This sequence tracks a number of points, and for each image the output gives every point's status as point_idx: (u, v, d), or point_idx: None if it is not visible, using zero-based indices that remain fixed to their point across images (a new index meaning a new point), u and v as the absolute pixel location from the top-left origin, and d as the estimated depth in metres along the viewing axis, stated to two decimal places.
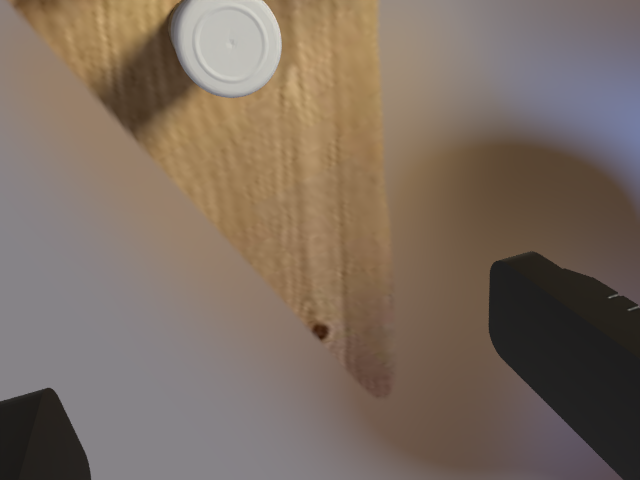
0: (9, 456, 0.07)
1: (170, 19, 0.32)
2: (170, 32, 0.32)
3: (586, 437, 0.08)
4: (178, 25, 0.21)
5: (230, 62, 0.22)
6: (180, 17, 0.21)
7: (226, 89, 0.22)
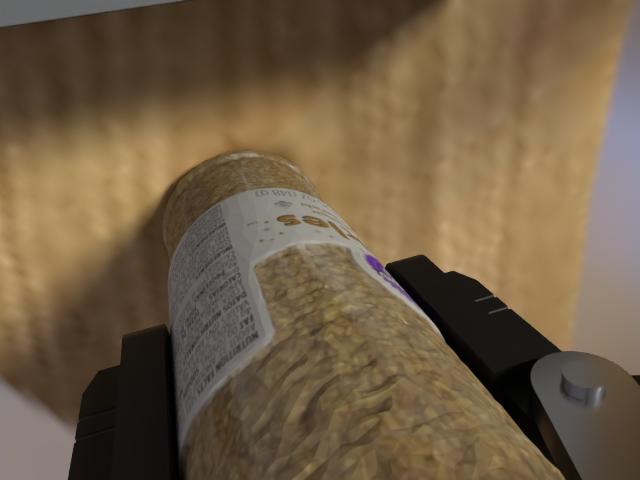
0: (151, 371, 0.08)
1: (168, 215, 0.13)
2: (168, 245, 0.13)
3: None
4: None
5: None
6: None
7: None
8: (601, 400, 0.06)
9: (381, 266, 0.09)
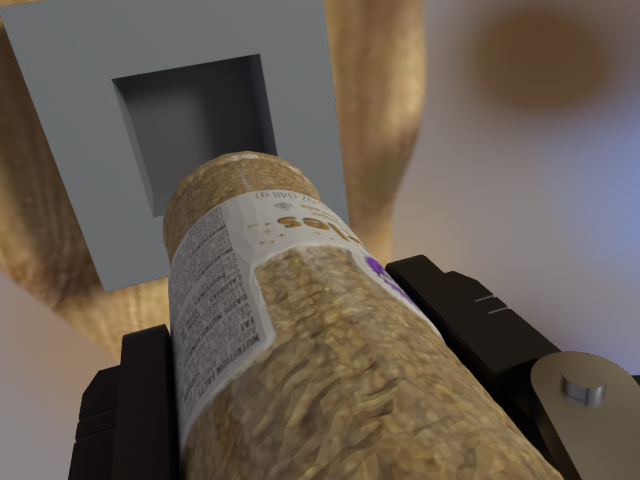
0: (151, 371, 0.08)
1: (168, 217, 0.13)
2: (168, 247, 0.13)
3: None
4: None
5: None
6: None
7: None
8: (601, 400, 0.06)
9: (381, 268, 0.09)
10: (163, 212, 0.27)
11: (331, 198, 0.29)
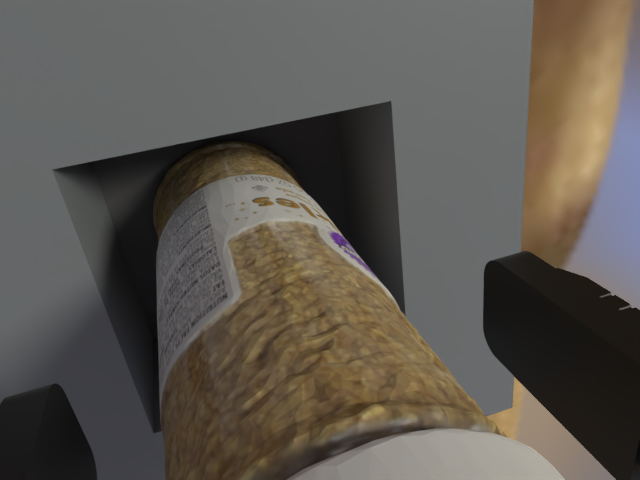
0: (18, 450, 0.07)
1: (157, 202, 0.14)
2: (157, 230, 0.14)
3: (578, 435, 0.08)
4: None
5: None
6: None
7: None
8: None
9: (345, 242, 0.10)
10: None
11: (489, 361, 0.15)
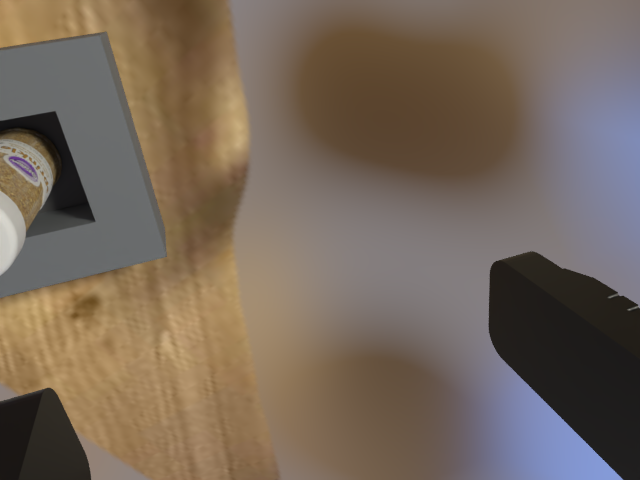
0: (9, 456, 0.07)
1: None
2: None
3: (585, 437, 0.08)
4: None
5: None
6: None
7: None
8: None
9: (20, 160, 0.27)
10: None
11: (143, 230, 0.33)
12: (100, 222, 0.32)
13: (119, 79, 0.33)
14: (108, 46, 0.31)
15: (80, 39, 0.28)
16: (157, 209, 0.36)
